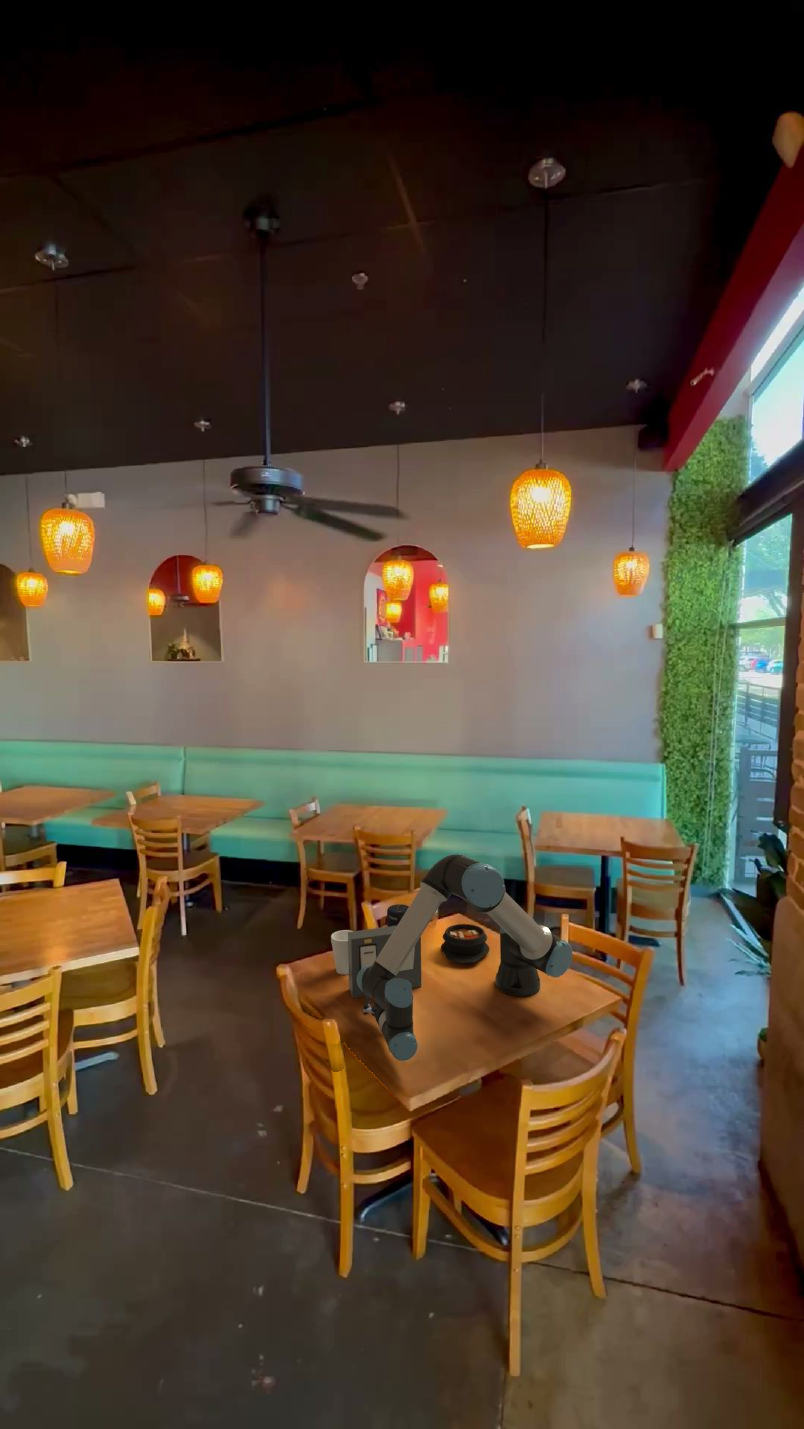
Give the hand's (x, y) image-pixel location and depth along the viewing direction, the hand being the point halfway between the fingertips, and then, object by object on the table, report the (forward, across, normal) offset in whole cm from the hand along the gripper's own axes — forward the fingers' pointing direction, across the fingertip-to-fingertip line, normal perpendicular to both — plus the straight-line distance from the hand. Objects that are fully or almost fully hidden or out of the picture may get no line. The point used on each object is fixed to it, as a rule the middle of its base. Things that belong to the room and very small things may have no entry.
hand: (371, 981), depth 207 cm
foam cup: (+25, -4, -8) cm, 27 cm away
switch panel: (+13, +7, -7) cm, 16 cm away
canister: (+35, +20, -8) cm, 40 cm away
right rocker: (+6, +13, 0) cm, 14 cm away
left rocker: (+3, 0, 0) cm, 3 cm away
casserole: (+25, +43, -8) cm, 50 cm away
